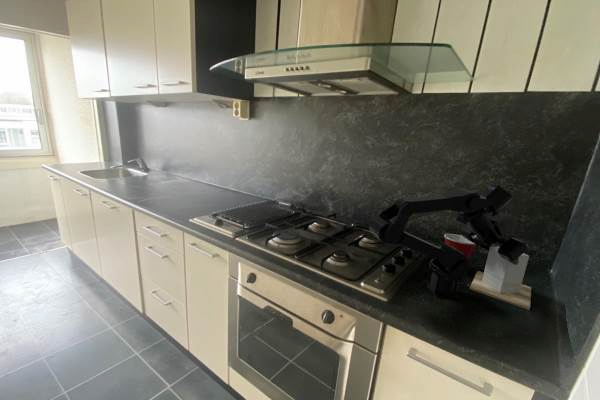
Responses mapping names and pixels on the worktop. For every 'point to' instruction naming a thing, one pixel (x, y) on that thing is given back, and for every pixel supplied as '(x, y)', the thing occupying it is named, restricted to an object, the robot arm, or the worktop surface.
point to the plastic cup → (459, 243)
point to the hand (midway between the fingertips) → (503, 256)
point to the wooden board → (516, 299)
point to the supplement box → (504, 272)
